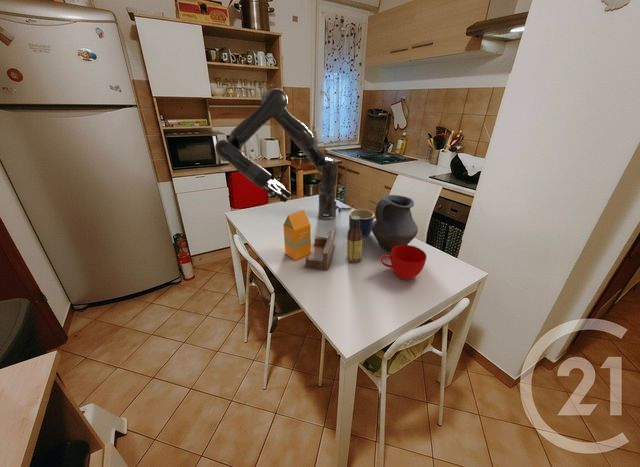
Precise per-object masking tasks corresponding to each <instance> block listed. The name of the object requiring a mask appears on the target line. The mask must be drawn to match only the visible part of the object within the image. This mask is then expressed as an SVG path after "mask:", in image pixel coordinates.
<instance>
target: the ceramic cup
mask: <svg viewBox="0 0 640 467" xmlns="http://www.w3.org/2000/svg"><path fill="white" fill-rule="evenodd" d="M427 257H428V256H427V254H426V252H425V251H424V250H423V249H421V248H419V247H417V246H414V245H410V244H408V245H398V246H395V247H394V248H393V249H392V251H390V255H389V254H382V255H381V256H380V259H379V260H380V263H381V264H382V265H383V266H384V267H387V268H390V269H392V271H393V272H394V274H396V276H397V277H398V278H400V279H402V280H412V279H413V278H415V277H417V276H418V275H419V274H420V273H421V272H422V271H423V269H424V267H425V264H426V262H427ZM384 258H388V259H389V260H390V264H387V263H386V262H384V261H383V260H384Z"/></svg>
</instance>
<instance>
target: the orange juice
mask: <svg viewBox="0 0 640 467" xmlns="http://www.w3.org/2000/svg"><path fill="white" fill-rule="evenodd" d="M311 236H312V235H311V222H310V220H309V218H308V215H307V213H306V210H305V209H303V210H300V211H297V212H294V213H290V214H288V215H287V217H286V219H285V221H284V223H283V240H284V253H285V255H287V256H288V257H290V258H291V259H293V260H294V261H298V260H299V259H302V258H304V257H307V256H308V255H311V253H312V251H311V250H312V249H311V247H312V244H311V243H312V241H311V240H312V238H311Z"/></svg>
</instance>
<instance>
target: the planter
mask: <svg viewBox="0 0 640 467" xmlns="http://www.w3.org/2000/svg"><path fill="white" fill-rule="evenodd" d="M348 213H349V214H348V217H349V218H348V229H349V228H350V226H351V220H350V218H351V216H359V217H360V218H361V220H360V229H361V232H362V238H363V237H368V236H369V235H370V234H372V229H371V227H372V224H373V222H374V221H375V212H373V211H371V210H369V209H364V208H358V209H352V210H351V211H349V212H348Z"/></svg>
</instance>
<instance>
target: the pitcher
mask: <svg viewBox="0 0 640 467" xmlns="http://www.w3.org/2000/svg"><path fill="white" fill-rule="evenodd" d="M414 205H415V202H414V199H412V198H410V197H409V196H405V195H397V194H386V195H384V196H382V197H381V198H380V200H378V202H377V204H376V206H375V212H374V217H375V219H374V221H373V224H372V227H371V229H372V231H371V233H372V234H373V236H374V238H375V239H376V242H377V244H378V245H379V247H380V248H382V249H383V250H385V251H387V252H391V251H392V249H393V248H394V247H395V246H398V245H409V244H410V243H411V242H412V241H413V240H414V239H415V238H416V237H417V234H418V232H419V226H418V225H417V223H416V221H415V220H414V218H413V215H412V211H411V208H413V207H414Z"/></svg>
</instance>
